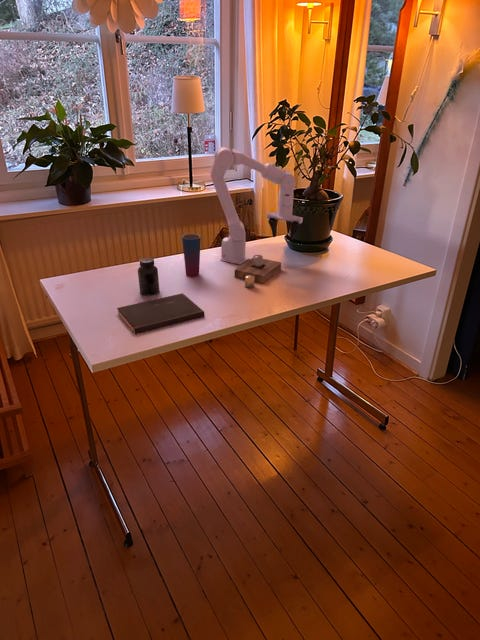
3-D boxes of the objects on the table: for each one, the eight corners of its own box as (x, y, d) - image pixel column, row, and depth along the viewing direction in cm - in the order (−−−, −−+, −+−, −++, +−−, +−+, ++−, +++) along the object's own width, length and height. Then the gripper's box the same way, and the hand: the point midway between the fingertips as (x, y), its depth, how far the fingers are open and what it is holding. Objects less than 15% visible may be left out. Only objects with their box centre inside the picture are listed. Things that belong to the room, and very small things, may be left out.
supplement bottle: (152, 286, 168) (149, 254, 163) (163, 292, 164) (161, 259, 158) (135, 291, 164) (132, 259, 158) (147, 297, 160) (144, 264, 154)
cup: (180, 276, 177) (178, 237, 170) (188, 269, 183) (187, 232, 176) (196, 279, 175) (195, 240, 168) (204, 272, 180) (203, 235, 173)
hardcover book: (117, 314, 150) (116, 307, 149) (183, 299, 161) (182, 293, 160) (135, 336, 138) (134, 329, 137) (204, 318, 149) (204, 311, 148)
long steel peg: (251, 273, 180) (251, 256, 177) (256, 271, 183) (256, 254, 179) (259, 275, 179) (259, 258, 175) (263, 272, 181) (264, 255, 178)
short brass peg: (243, 287, 169) (243, 277, 167) (247, 284, 172) (247, 274, 170) (251, 289, 168) (251, 279, 166) (255, 286, 170) (256, 275, 168)
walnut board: (234, 276, 177) (234, 269, 176) (253, 263, 190) (254, 256, 188) (263, 283, 172) (263, 276, 171) (280, 269, 185) (281, 262, 183)
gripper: (264, 204, 183) (262, 237, 189) (299, 209, 177) (296, 243, 184) (271, 200, 189) (269, 233, 195) (305, 205, 183) (302, 238, 189)
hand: (283, 238), depth 190 cm, fingers open, 7 cm apart
